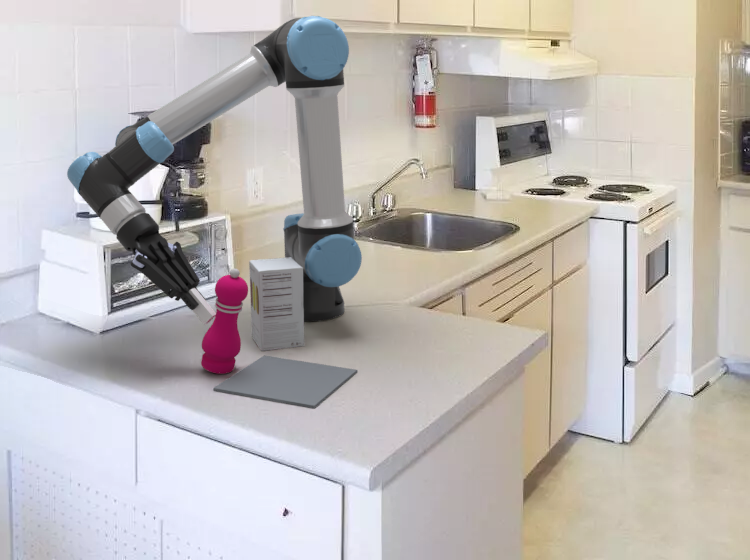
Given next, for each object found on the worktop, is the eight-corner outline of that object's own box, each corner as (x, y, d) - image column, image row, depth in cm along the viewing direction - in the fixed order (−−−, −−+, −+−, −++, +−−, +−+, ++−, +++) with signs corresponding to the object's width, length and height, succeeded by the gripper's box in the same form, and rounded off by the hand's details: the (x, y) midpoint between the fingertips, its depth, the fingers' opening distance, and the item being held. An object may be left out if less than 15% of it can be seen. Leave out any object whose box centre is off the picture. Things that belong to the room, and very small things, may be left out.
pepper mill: (242, 365, 163) (261, 269, 156) (226, 379, 156) (245, 280, 149) (209, 353, 164) (226, 258, 157) (191, 366, 157) (208, 268, 151)
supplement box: (250, 337, 178) (247, 259, 174) (293, 332, 181) (291, 256, 177) (261, 352, 170) (258, 270, 165) (305, 346, 173) (303, 266, 168)
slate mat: (213, 390, 150) (213, 387, 150) (264, 357, 166) (264, 355, 166) (314, 408, 143) (314, 405, 143) (357, 372, 159) (357, 369, 159)
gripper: (142, 230, 167) (218, 321, 165) (97, 243, 155) (178, 341, 153) (163, 205, 163) (241, 298, 161) (118, 217, 152) (201, 317, 150)
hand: (210, 319), depth 157 cm, fingers closed
